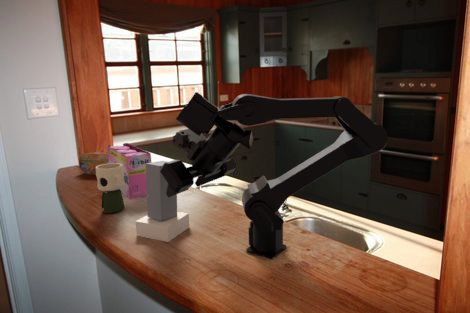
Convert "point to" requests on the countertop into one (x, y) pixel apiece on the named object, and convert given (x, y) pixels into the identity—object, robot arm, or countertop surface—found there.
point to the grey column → (159, 194)
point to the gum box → (131, 168)
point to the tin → (92, 162)
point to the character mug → (111, 186)
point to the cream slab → (162, 227)
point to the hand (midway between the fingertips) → (182, 190)
